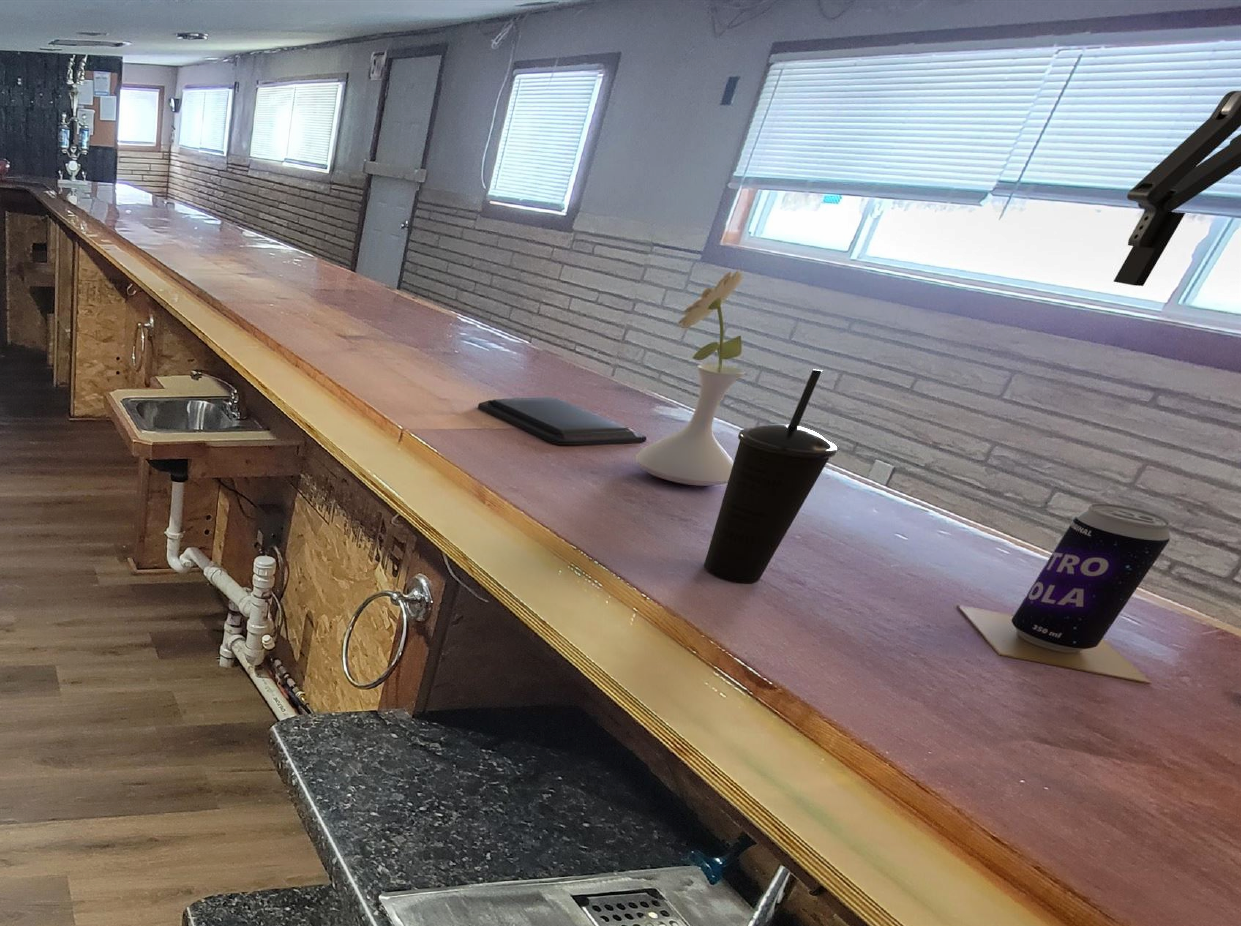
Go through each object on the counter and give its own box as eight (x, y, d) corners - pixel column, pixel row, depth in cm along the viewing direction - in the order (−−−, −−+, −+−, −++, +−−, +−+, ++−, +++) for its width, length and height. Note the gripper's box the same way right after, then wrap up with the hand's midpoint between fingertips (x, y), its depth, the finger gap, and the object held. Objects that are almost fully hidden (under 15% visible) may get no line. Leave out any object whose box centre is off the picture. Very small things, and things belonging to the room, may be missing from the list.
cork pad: (1091, 630, 81) (1092, 628, 81) (1150, 684, 73) (1151, 682, 72) (956, 606, 84) (957, 604, 84) (999, 654, 76) (1000, 653, 76)
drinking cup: (693, 580, 87) (777, 373, 77) (682, 551, 93) (758, 356, 83) (784, 596, 84) (882, 385, 74) (766, 565, 90) (855, 366, 80)
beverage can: (1008, 618, 82) (1084, 496, 76) (1092, 642, 78) (1178, 516, 72) (1003, 638, 78) (1081, 511, 72) (1090, 664, 75) (1181, 533, 69)
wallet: (477, 394, 139) (562, 393, 142) (474, 406, 140) (559, 405, 143) (557, 433, 122) (652, 430, 125) (553, 446, 123) (647, 443, 126)
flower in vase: (680, 461, 120) (753, 262, 107) (753, 491, 110) (843, 277, 98) (601, 466, 116) (667, 262, 104) (669, 498, 107) (751, 277, 94)
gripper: (1495, 36, 77) (1321, 292, 88) (1165, 28, 81) (1036, 274, 92) (1601, 27, 71) (1400, 304, 82) (1237, 19, 75) (1090, 285, 85)
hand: (1207, 289), depth 87 cm, fingers open, 13 cm apart
